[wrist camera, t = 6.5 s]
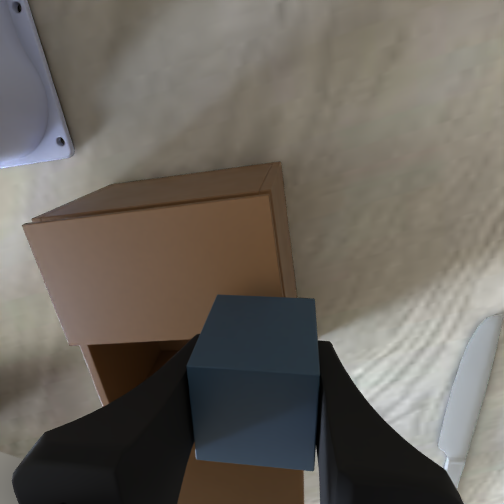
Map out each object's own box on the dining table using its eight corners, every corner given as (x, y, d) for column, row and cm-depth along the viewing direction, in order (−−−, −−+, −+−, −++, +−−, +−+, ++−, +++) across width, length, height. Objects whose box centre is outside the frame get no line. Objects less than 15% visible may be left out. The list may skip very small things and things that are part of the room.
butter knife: (412, 550, 32) (447, 555, 32) (472, 314, 23) (522, 317, 23) (410, 545, 33) (445, 549, 32) (469, 310, 24) (518, 313, 23)
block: (221, 371, 17) (195, 460, 13) (216, 293, 15) (185, 365, 11) (310, 377, 16) (314, 472, 12) (314, 298, 15) (320, 374, 11)
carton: (303, 345, 26) (303, 442, 19) (158, 352, 28) (106, 443, 21) (281, 161, 22) (269, 193, 14) (109, 184, 24) (19, 223, 16)
